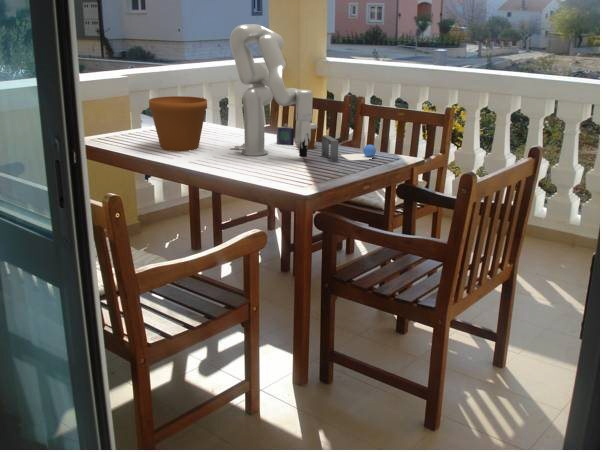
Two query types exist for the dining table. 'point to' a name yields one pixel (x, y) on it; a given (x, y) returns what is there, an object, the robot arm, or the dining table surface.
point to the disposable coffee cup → (312, 135)
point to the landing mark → (355, 157)
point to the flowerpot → (178, 121)
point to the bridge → (334, 148)
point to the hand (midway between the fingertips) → (303, 156)
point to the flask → (285, 135)
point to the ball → (369, 150)
